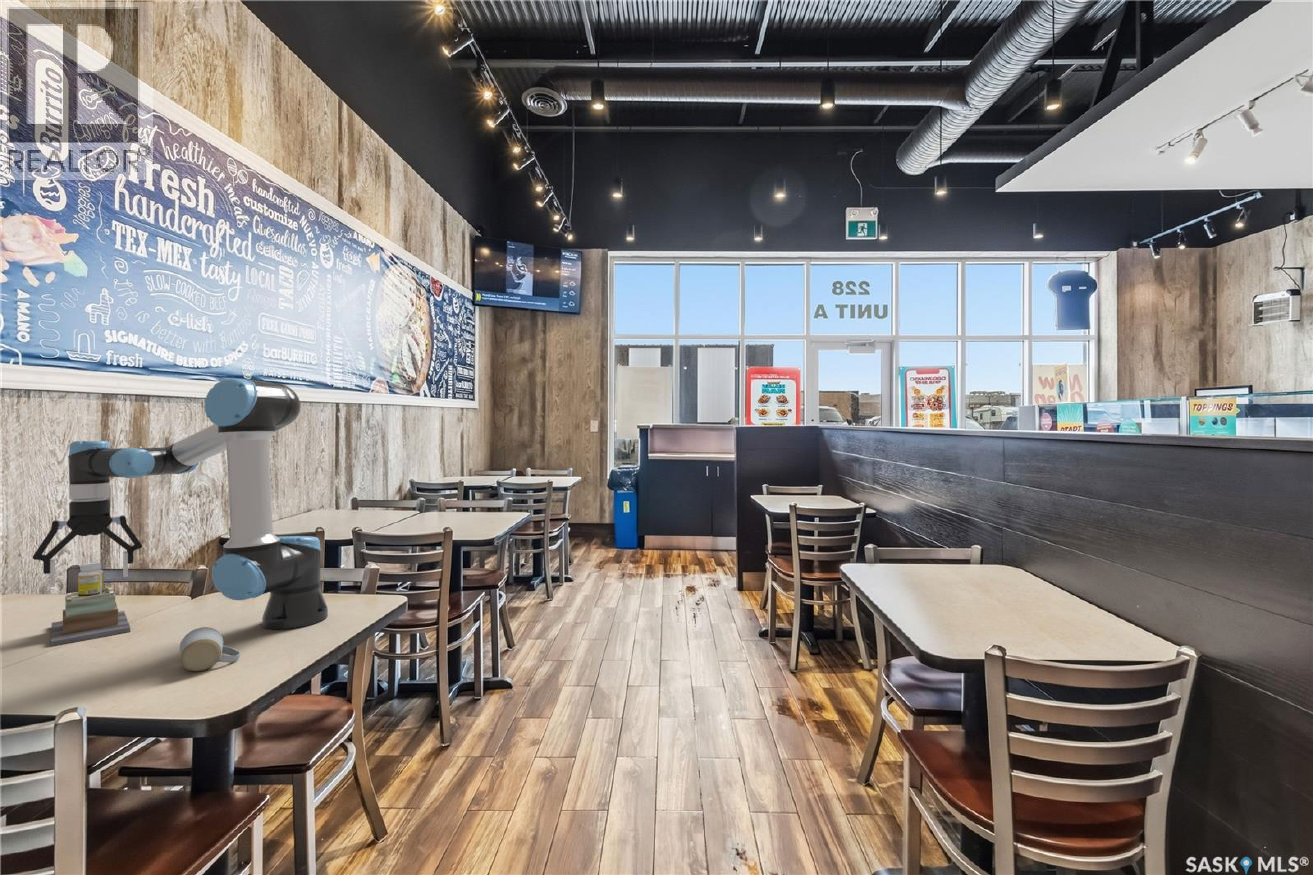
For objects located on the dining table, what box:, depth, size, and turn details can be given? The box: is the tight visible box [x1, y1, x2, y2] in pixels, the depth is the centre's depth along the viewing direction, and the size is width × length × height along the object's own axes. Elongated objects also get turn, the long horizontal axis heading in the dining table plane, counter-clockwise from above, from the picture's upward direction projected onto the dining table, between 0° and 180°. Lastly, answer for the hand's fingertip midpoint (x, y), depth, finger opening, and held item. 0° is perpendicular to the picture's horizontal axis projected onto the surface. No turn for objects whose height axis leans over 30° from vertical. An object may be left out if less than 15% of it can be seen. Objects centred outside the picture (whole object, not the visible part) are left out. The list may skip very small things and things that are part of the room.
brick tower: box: [50, 586, 131, 647], centre depth 149 cm, size 20×14×10 cm
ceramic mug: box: [178, 626, 241, 672], centre depth 126 cm, size 11×8×8 cm
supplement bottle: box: [77, 562, 105, 597], centre depth 149 cm, size 5×5×8 cm
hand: (90, 581), depth 149 cm, fingers open, 13 cm apart
